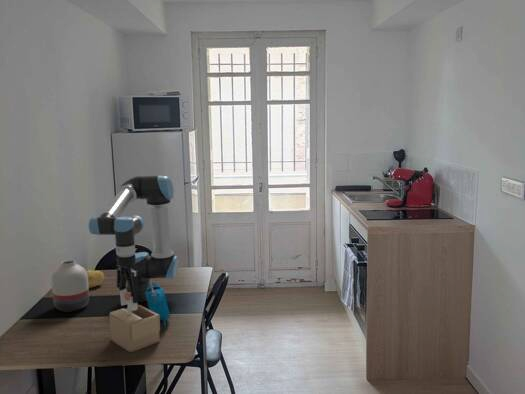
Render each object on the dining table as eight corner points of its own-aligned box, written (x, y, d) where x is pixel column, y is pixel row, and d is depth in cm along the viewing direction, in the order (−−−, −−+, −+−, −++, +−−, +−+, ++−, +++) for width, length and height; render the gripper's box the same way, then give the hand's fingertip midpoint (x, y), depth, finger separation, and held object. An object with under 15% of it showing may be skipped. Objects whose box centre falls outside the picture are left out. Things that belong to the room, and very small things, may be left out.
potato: (79, 285, 289) (77, 268, 287) (105, 283, 291) (104, 267, 289) (75, 291, 279) (74, 274, 277) (103, 289, 281) (101, 272, 280)
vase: (66, 300, 266) (62, 256, 262) (96, 302, 263) (92, 257, 259) (46, 313, 250) (42, 266, 246) (78, 315, 247) (74, 268, 243)
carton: (110, 339, 220) (108, 313, 218) (140, 329, 230) (138, 304, 228) (130, 353, 208) (129, 325, 206) (161, 341, 218) (160, 314, 216)
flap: (109, 313, 218) (108, 290, 216) (124, 309, 222) (122, 286, 220) (128, 324, 206) (126, 300, 205) (143, 319, 211) (141, 295, 209)
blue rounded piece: (171, 327, 232) (169, 285, 228) (148, 330, 229) (145, 287, 225) (168, 313, 247) (166, 273, 244) (146, 315, 245) (144, 275, 241)
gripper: (105, 251, 215) (109, 303, 219) (130, 261, 201) (133, 316, 205) (121, 248, 221) (125, 298, 225) (147, 257, 206) (150, 311, 210)
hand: (129, 307), depth 215 cm, fingers open, 8 cm apart
